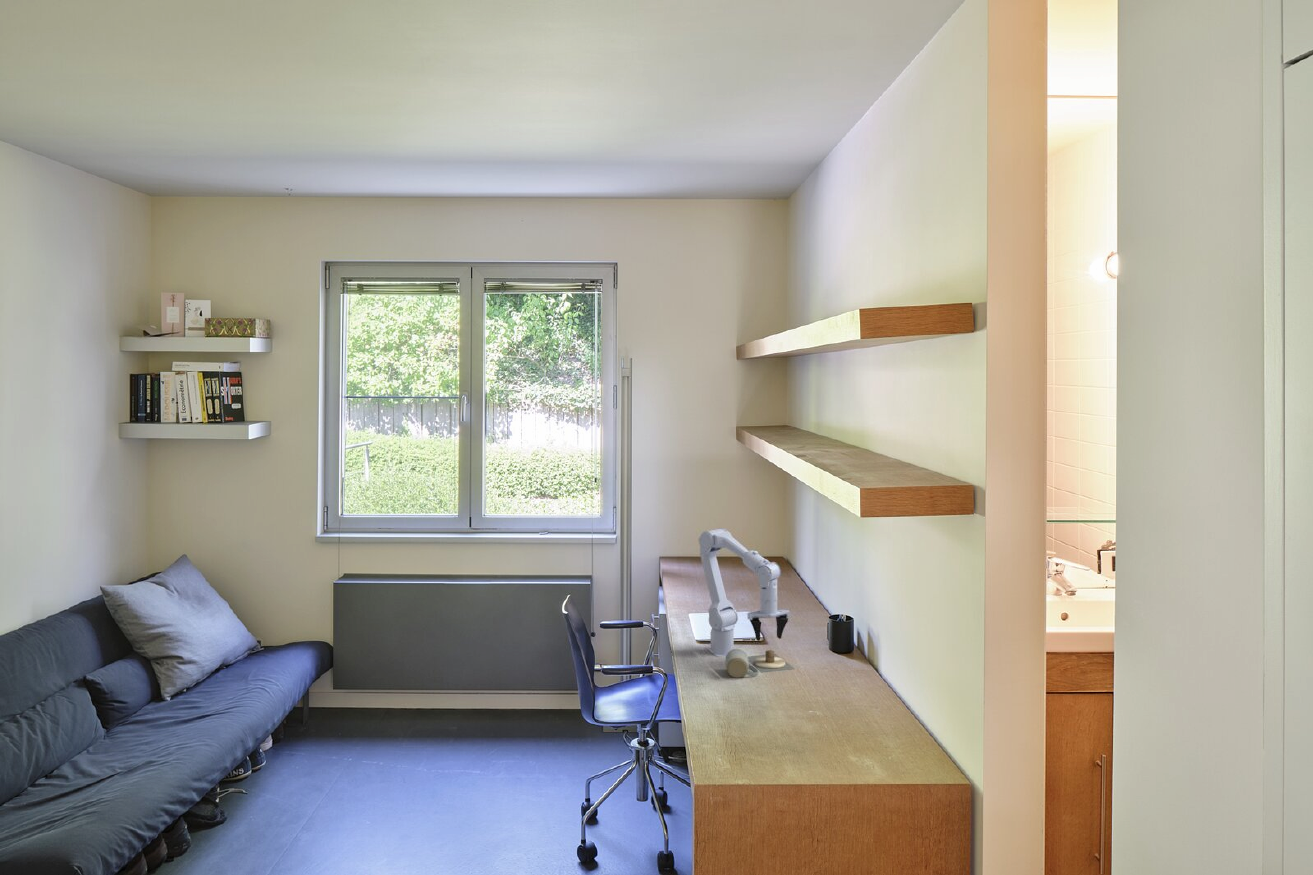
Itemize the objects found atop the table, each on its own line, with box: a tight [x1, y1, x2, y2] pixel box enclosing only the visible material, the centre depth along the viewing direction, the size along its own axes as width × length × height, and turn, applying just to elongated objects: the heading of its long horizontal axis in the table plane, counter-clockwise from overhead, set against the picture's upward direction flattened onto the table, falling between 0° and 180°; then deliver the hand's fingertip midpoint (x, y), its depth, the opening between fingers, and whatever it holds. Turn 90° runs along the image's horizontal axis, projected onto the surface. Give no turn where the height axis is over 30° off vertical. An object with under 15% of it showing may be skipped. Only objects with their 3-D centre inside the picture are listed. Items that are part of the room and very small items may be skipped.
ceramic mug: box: [725, 648, 759, 679], centre depth 268 cm, size 11×8×8 cm
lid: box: [755, 649, 786, 669], centre depth 278 cm, size 10×10×4 cm
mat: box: [747, 653, 796, 673], centre depth 279 cm, size 16×12×1 cm
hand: (768, 638), depth 277 cm, fingers open, 7 cm apart
